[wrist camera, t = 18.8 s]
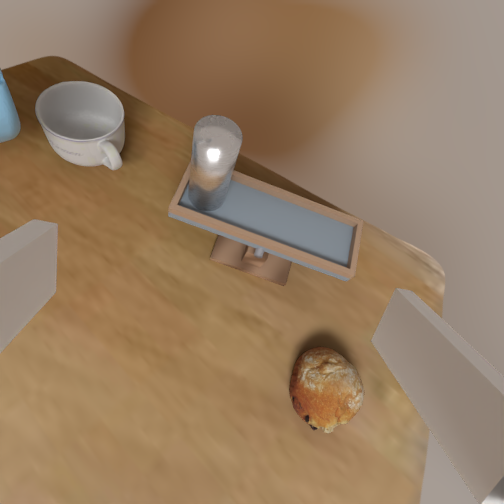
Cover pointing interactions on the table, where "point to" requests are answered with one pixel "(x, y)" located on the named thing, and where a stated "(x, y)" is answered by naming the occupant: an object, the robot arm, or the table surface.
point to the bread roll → (325, 389)
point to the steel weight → (213, 161)
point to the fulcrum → (250, 260)
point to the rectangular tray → (278, 224)
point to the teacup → (83, 123)
